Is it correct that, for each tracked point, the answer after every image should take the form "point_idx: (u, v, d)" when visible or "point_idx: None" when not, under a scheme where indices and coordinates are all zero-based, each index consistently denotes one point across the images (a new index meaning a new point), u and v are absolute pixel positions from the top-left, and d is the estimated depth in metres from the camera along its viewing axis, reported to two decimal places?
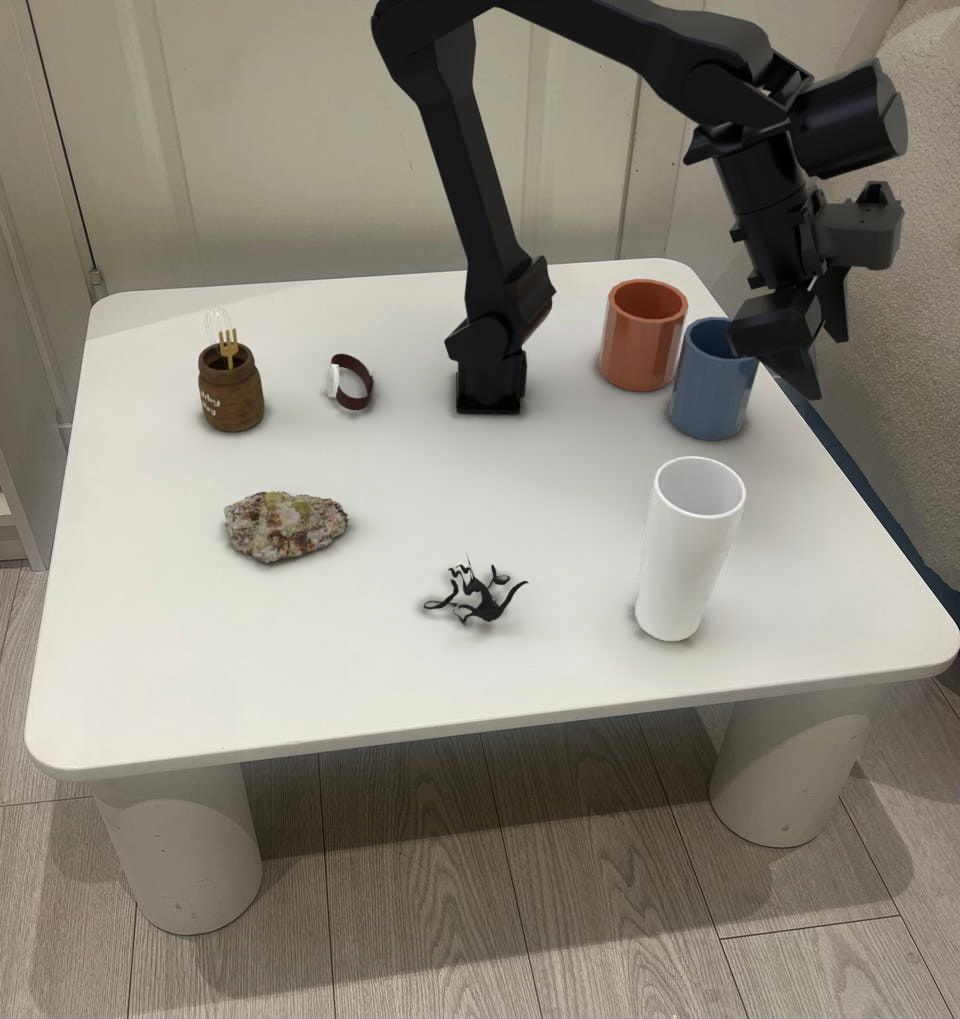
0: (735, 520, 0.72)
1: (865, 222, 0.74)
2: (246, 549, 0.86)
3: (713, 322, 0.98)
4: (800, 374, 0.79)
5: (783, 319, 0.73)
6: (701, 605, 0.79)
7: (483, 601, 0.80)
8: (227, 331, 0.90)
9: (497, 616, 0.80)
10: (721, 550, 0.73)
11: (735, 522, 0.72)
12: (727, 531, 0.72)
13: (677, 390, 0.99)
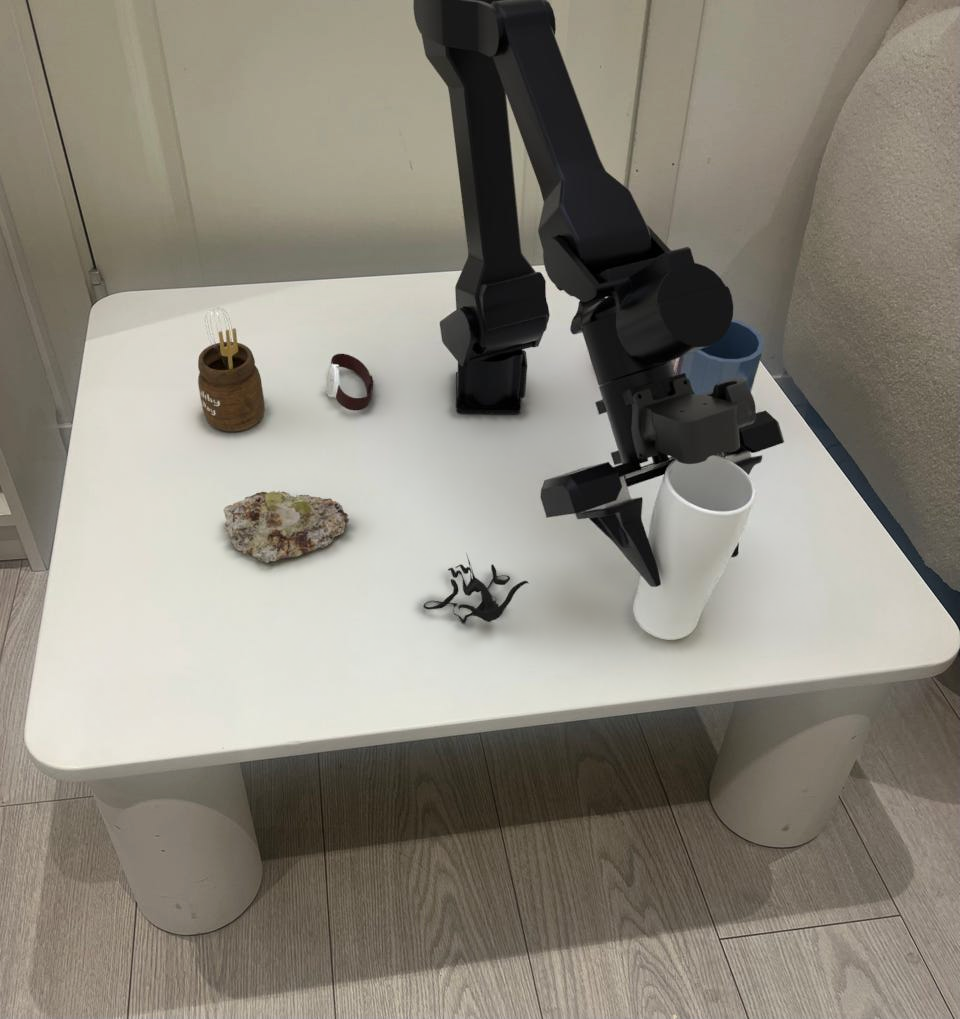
0: (743, 518, 0.72)
1: (682, 412, 0.70)
2: (246, 549, 0.86)
3: None
4: (631, 552, 0.76)
5: (562, 485, 0.72)
6: (701, 604, 0.79)
7: (483, 601, 0.80)
8: (227, 331, 0.90)
9: (497, 616, 0.80)
10: (727, 548, 0.73)
11: (743, 520, 0.72)
12: (734, 529, 0.72)
13: None
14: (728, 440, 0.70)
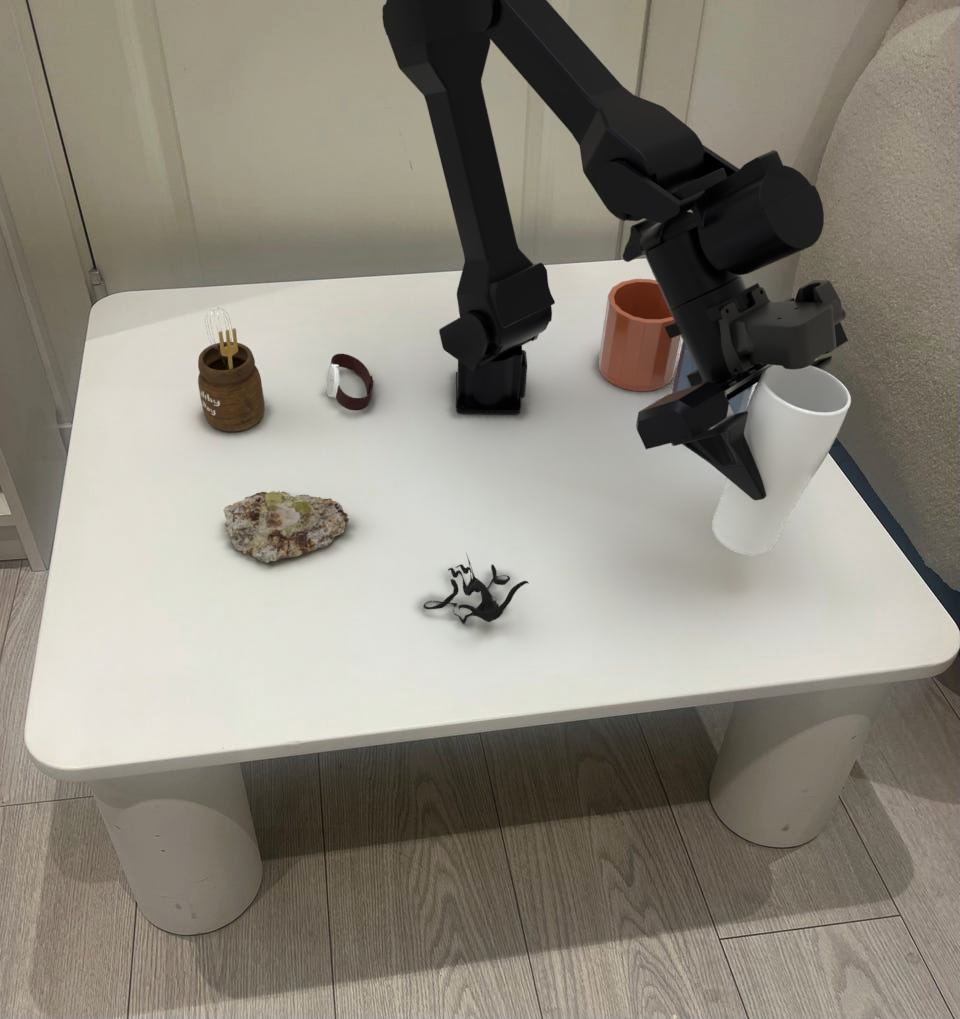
0: (843, 418, 0.73)
1: (781, 319, 0.70)
2: (246, 549, 0.86)
3: None
4: (734, 469, 0.75)
5: (672, 411, 0.70)
6: (789, 514, 0.79)
7: (483, 601, 0.80)
8: (227, 331, 0.90)
9: (497, 616, 0.80)
10: (826, 451, 0.74)
11: None
12: (836, 430, 0.73)
13: (677, 390, 0.99)
14: (829, 340, 0.70)
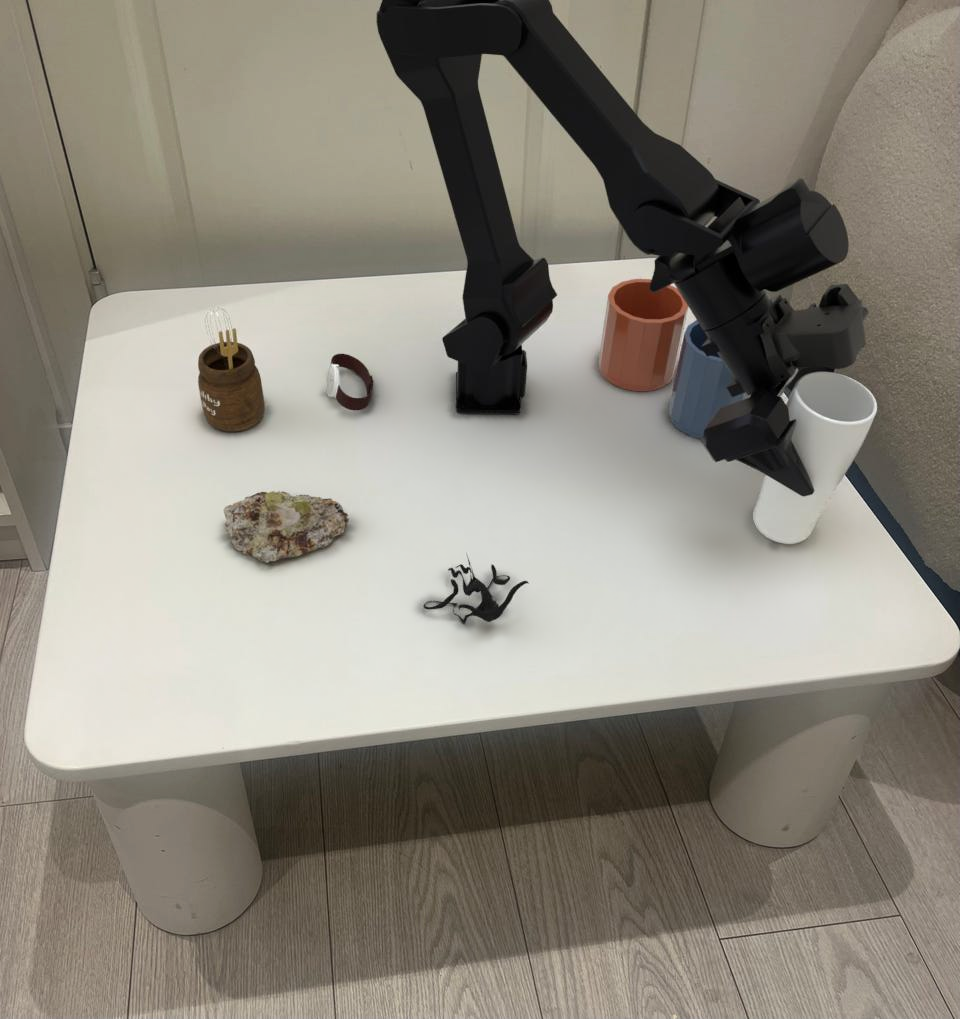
0: None
1: (821, 325, 0.78)
2: (246, 549, 0.86)
3: None
4: (785, 472, 0.82)
5: (746, 424, 0.77)
6: None
7: (483, 601, 0.80)
8: (227, 331, 0.90)
9: (497, 616, 0.80)
10: None
11: None
12: None
13: (677, 390, 0.99)
14: (862, 337, 0.79)
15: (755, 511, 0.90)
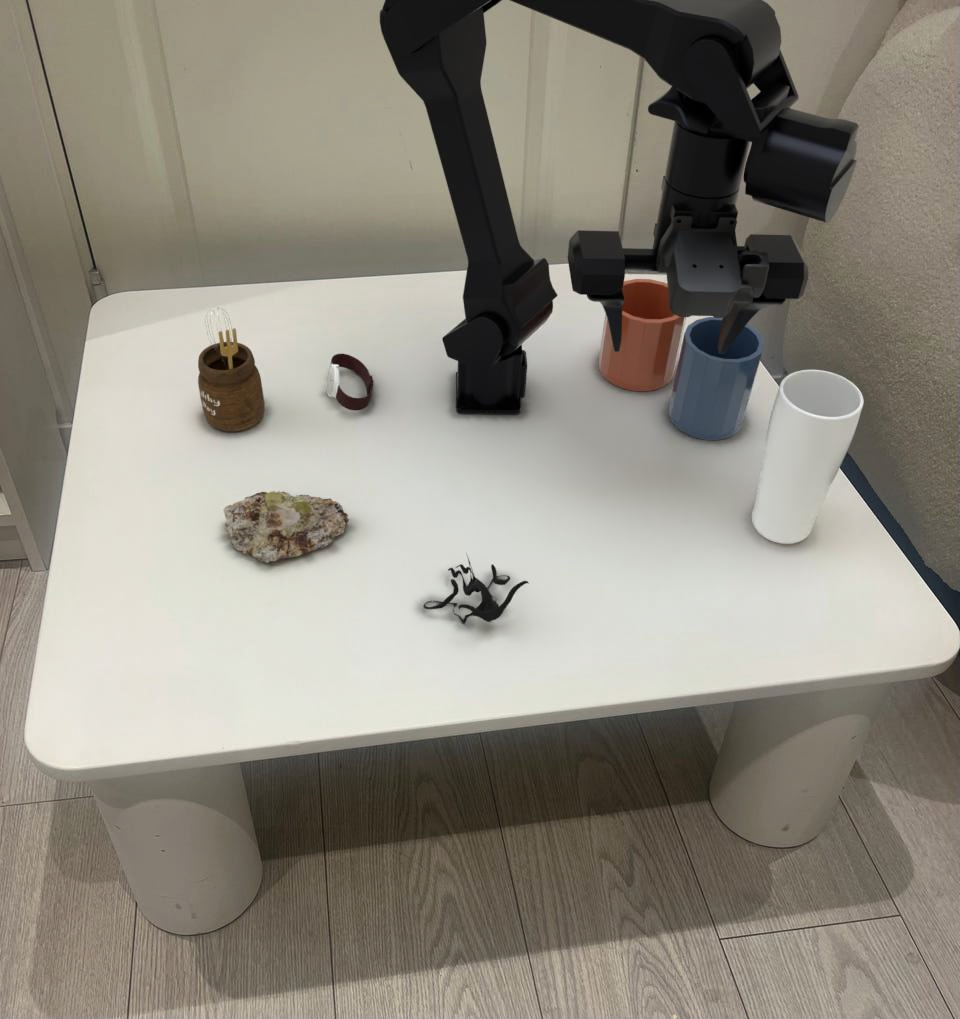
0: (860, 413, 0.81)
1: (693, 268, 0.75)
2: (246, 549, 0.86)
3: (713, 322, 0.98)
4: None
5: (574, 261, 0.80)
6: None
7: (483, 601, 0.80)
8: (227, 331, 0.90)
9: (497, 616, 0.80)
10: (850, 443, 0.82)
11: None
12: (857, 424, 0.81)
13: (677, 390, 0.99)
14: (716, 310, 0.76)
15: (753, 512, 0.91)
